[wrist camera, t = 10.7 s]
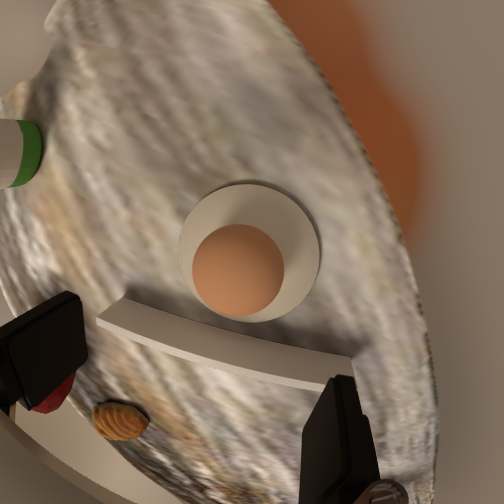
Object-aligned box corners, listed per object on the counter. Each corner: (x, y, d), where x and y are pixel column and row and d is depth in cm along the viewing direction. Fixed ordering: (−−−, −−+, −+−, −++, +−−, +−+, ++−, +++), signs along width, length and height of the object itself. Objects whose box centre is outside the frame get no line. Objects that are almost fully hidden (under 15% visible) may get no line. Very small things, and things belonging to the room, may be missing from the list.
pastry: (127, 392, 28) (113, 411, 25) (162, 426, 29) (152, 446, 26) (94, 403, 31) (81, 418, 27) (124, 433, 32) (114, 449, 28)
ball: (300, 274, 21) (301, 308, 15) (233, 306, 22) (212, 346, 16) (260, 203, 20) (246, 212, 14) (194, 242, 21) (159, 264, 16)
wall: (349, 356, 22) (358, 389, 18) (346, 363, 23) (354, 396, 18) (122, 297, 24) (96, 317, 20) (122, 304, 25) (96, 324, 20)
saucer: (341, 283, 21) (342, 286, 20) (225, 336, 24) (224, 340, 23) (274, 157, 19) (273, 156, 19) (157, 229, 22) (154, 230, 21)
